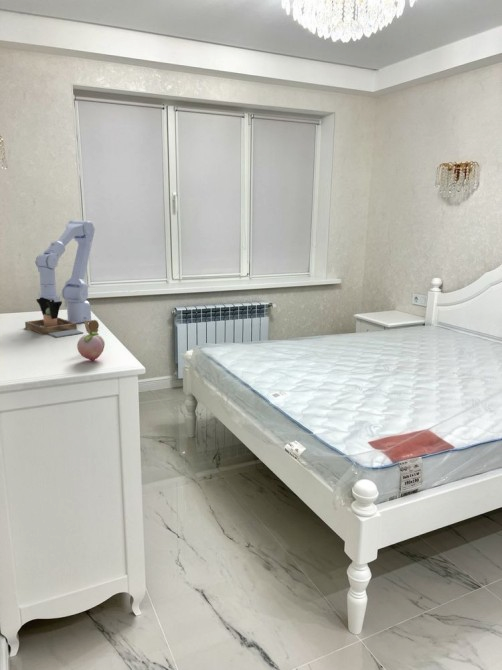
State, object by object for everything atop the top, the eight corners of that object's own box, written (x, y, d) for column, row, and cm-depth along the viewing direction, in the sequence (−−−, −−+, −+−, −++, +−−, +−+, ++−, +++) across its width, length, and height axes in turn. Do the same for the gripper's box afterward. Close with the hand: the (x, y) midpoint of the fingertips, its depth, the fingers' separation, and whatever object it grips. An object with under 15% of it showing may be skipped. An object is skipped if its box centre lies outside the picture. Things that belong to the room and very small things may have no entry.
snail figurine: (80, 349, 176) (78, 316, 173) (93, 345, 181) (92, 313, 179) (91, 351, 173) (90, 318, 171) (105, 347, 179) (103, 315, 176)
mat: (74, 330, 204) (74, 329, 204) (83, 333, 199) (83, 332, 199) (48, 334, 196) (48, 333, 196) (56, 337, 191) (56, 336, 191)
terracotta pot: (54, 326, 209) (52, 306, 207) (60, 328, 206) (58, 307, 204) (41, 328, 205) (40, 307, 203) (47, 330, 202) (46, 309, 200)
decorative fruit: (82, 356, 167) (80, 327, 165) (107, 356, 168) (105, 328, 166) (74, 365, 158) (72, 334, 156) (100, 365, 159) (99, 334, 157)
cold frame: (58, 323, 216) (57, 317, 215) (76, 329, 205) (76, 323, 205) (25, 327, 206) (25, 321, 205) (43, 334, 195) (42, 328, 195)
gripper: (30, 282, 203) (32, 315, 206) (46, 286, 194) (48, 321, 197) (47, 281, 208) (49, 313, 211) (63, 285, 199) (65, 318, 202)
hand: (50, 317), depth 204 cm, fingers open, 7 cm apart
